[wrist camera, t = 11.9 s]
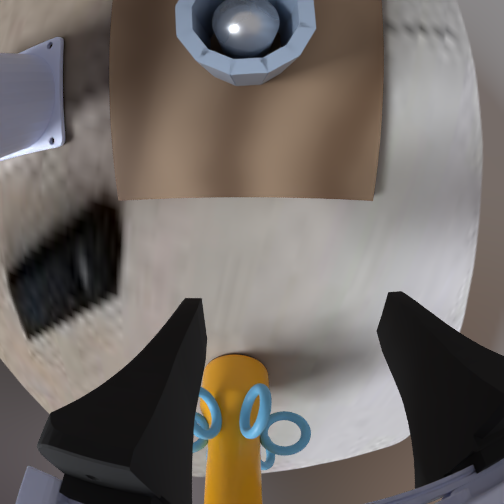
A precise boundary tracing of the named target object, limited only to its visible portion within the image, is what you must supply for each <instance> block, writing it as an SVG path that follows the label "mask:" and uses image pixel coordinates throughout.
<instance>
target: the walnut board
mask: <svg viewBox="0 0 504 504" xmlns="http://www.w3.org/2000/svg"><path fill="white" fill-rule="evenodd" d="M178 1H179V0H113V3H112V14H111V28H110V51H109V97H110V120H111V136H112V148H113V159H114V169H115V178H116V186H117V193H118V200H119V201H123V200H142V199H166V198H201V197H288V198H324V199H348V200H367V201H373V197H374V190H375V182H376V174H377V166H378V156H379V146H380V135H381V122H382V105H383V78H384V41H383V15H382V0H314V10H315V20H316V30H315V31H314V33H313V35H312V36H311V38H310V40H309V41H308V43H307V45H306V46H305V48H304V50H303V52H302V53H301V55H300V56H299V57H298V58H297V59H296V60H295V61H294V62H293V63H291V64H290V65H289V66H288V67H287V68H286V69H285V70H284V71H283V72H282V73H281V74H279V75H277V76H275V77H273V78H272V79H270V80H268V81H267V82H265V83H263V84H261V85H246V86H235V85H232V84H230V83H228V82H226V81H223V80H221V79H218V78H216V77H214V76H213V75H212V74H211V73H209V72H208V71H207V70H206V69H205V68H204V67H202V66H201V65H200V64H199V63H198V62H197V61H196V60H195V59H194V58H193V56H192V55H191V54H190V53H189V51H188V50H187V49H186V48H185V46H184V45H183V44H182V42H181V41H180V40H179V39H178V37H177V36H176V15H175V6H176V4H177V2H178ZM280 48H281V38H280V34H279V33H278V31H277V34H276V36H275V38H274V41H273V43H272V46H271V48H270V50H269V53H268V55H269V54H270V53H272V52H274V51H276V50H278V49H280ZM211 50H212V51H215V52H217V53H220V54H222V55H224V53H223V50H222V48H221V46H220V44H219V42H218V40H217V37H216V35H215V33H214V34H213V36H212V37H211Z"/></svg>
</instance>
